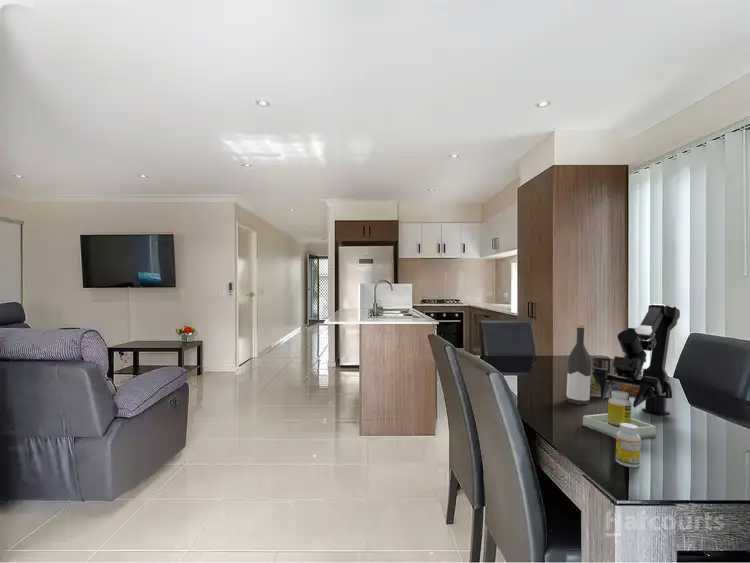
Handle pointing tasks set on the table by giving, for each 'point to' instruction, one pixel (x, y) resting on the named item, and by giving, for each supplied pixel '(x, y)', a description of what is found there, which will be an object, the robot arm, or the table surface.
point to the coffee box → (595, 388)
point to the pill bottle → (619, 408)
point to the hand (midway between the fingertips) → (617, 402)
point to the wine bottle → (579, 371)
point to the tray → (601, 425)
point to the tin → (625, 387)
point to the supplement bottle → (628, 445)
